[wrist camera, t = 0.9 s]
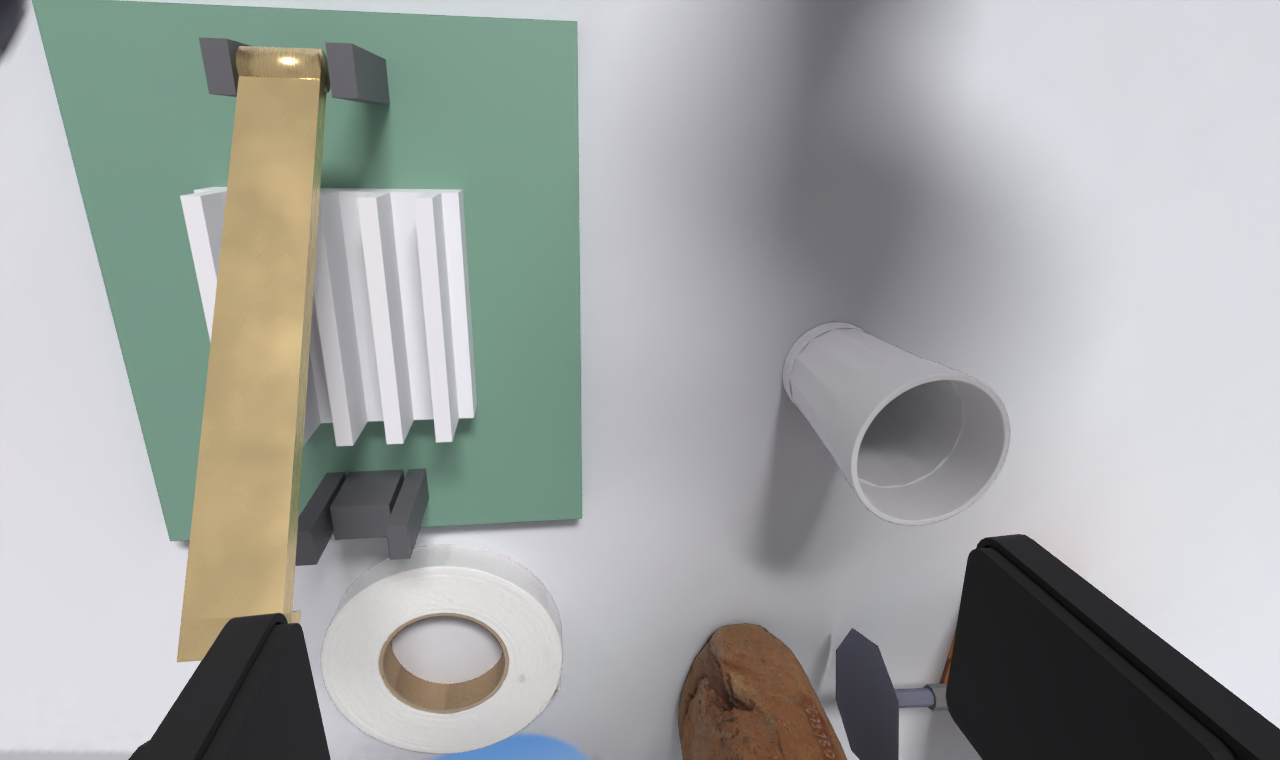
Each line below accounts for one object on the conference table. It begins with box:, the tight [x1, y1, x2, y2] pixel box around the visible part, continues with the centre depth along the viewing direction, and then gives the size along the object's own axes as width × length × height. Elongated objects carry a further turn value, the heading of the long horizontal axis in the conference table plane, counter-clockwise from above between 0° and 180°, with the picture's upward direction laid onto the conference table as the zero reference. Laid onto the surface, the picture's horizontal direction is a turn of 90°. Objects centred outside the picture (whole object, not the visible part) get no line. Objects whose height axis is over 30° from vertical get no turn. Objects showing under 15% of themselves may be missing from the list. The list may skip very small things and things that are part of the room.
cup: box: [783, 322, 1010, 526], centre depth 37 cm, size 8×8×12 cm
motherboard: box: [32, 0, 582, 566], centre depth 34 cm, size 28×24×8 cm
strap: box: [177, 46, 331, 662], centre depth 24 cm, size 23×3×2 cm
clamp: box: [836, 628, 983, 760], centre depth 46 cm, size 11×20×14 cm, turn 85°
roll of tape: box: [321, 544, 563, 754], centre depth 45 cm, size 16×15×3 cm
